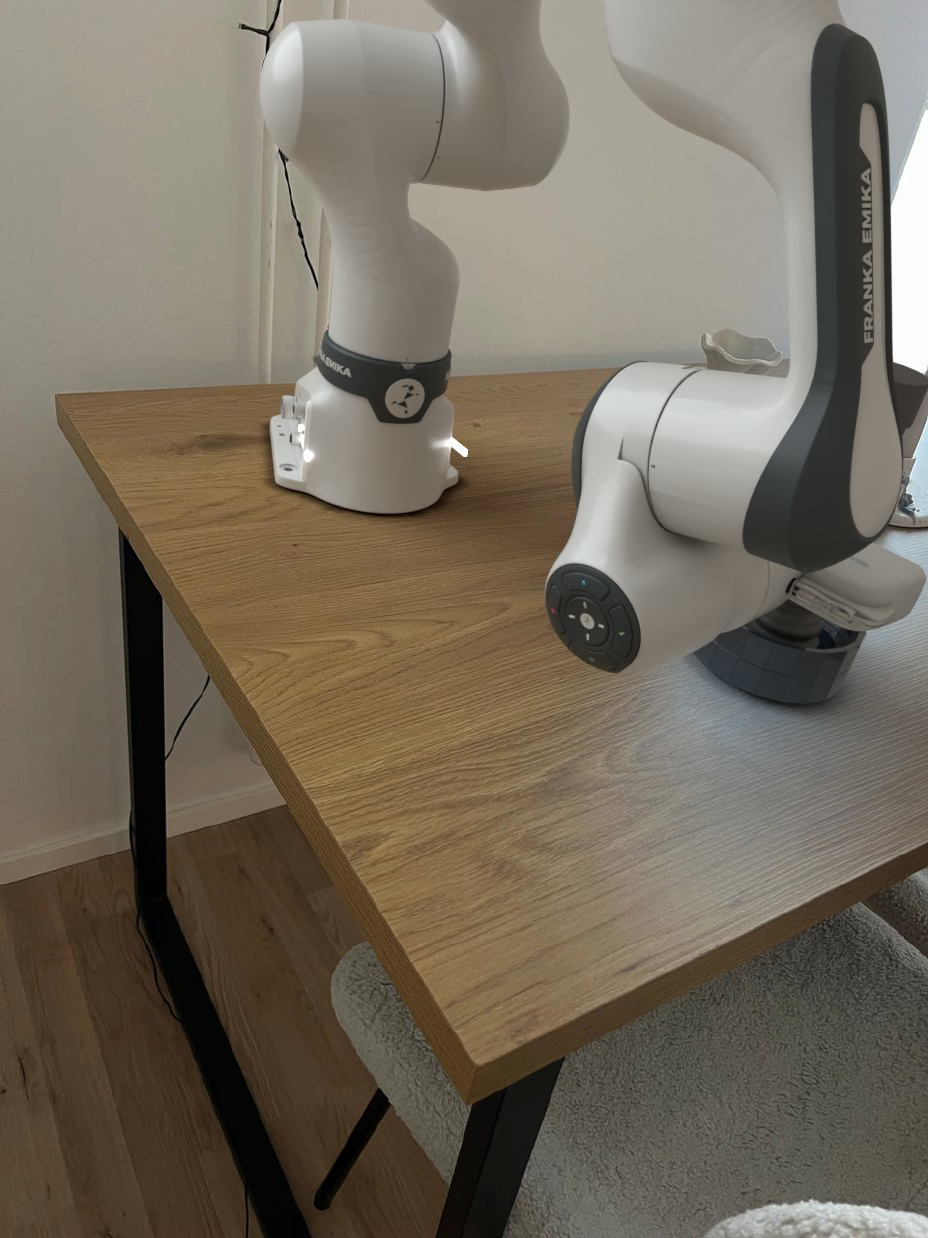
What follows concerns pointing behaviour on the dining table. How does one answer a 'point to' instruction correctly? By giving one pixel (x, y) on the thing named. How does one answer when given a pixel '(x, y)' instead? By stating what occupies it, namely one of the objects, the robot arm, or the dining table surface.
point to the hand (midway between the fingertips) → (826, 516)
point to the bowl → (783, 663)
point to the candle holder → (790, 617)
